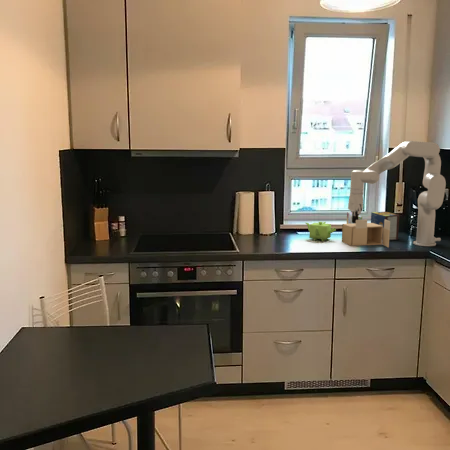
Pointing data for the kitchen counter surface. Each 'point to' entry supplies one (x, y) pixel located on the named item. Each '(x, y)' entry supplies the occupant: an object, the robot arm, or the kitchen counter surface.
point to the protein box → (393, 218)
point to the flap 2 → (386, 233)
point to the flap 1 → (360, 233)
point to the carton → (372, 234)
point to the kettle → (320, 231)
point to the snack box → (349, 218)
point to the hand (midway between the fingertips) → (354, 222)
